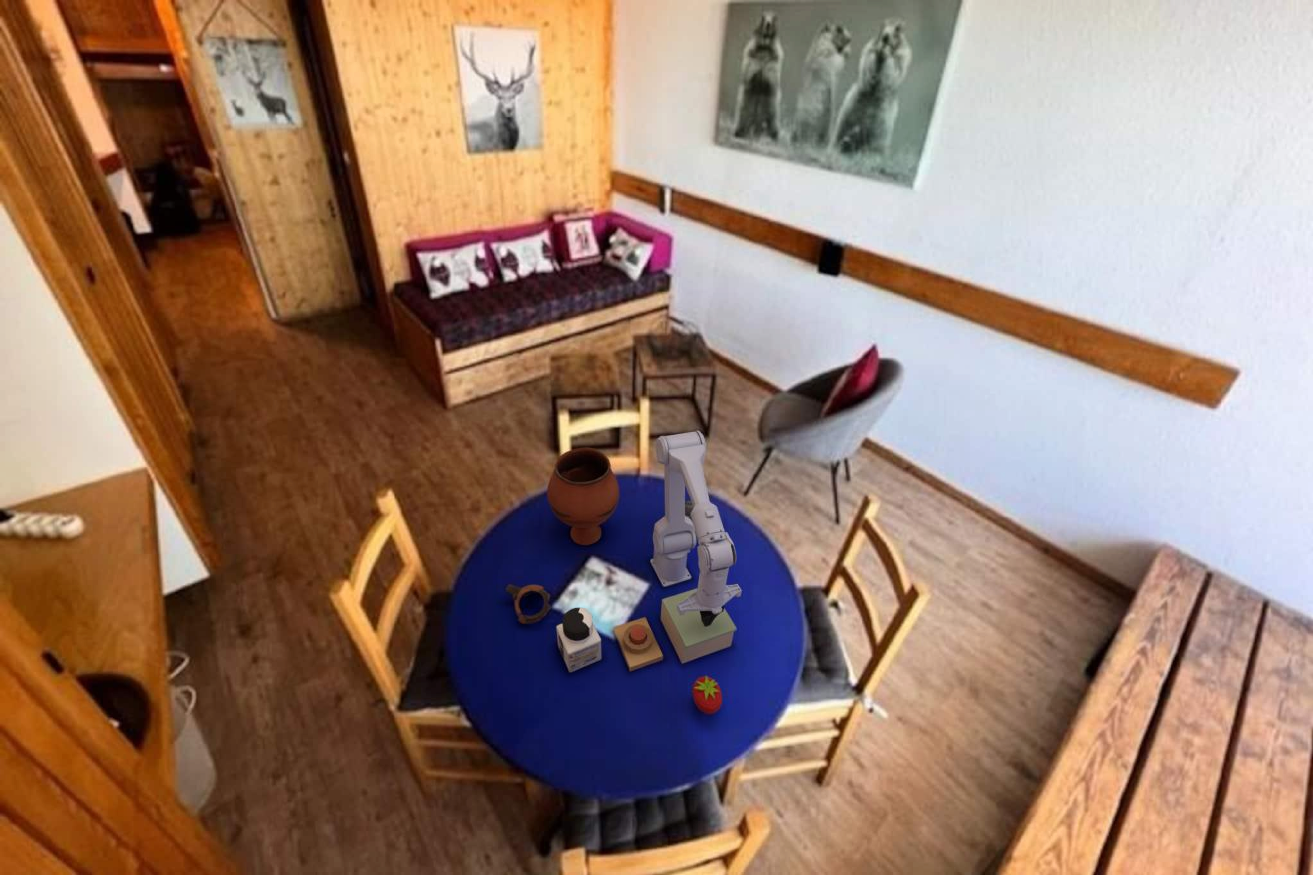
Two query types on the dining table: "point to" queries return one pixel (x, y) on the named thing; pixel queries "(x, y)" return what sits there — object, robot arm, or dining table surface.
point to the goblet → (583, 492)
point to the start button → (637, 635)
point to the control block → (637, 645)
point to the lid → (696, 622)
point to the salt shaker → (688, 509)
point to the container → (578, 639)
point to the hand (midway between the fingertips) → (705, 622)
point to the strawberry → (707, 695)
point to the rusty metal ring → (525, 591)
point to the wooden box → (698, 649)
